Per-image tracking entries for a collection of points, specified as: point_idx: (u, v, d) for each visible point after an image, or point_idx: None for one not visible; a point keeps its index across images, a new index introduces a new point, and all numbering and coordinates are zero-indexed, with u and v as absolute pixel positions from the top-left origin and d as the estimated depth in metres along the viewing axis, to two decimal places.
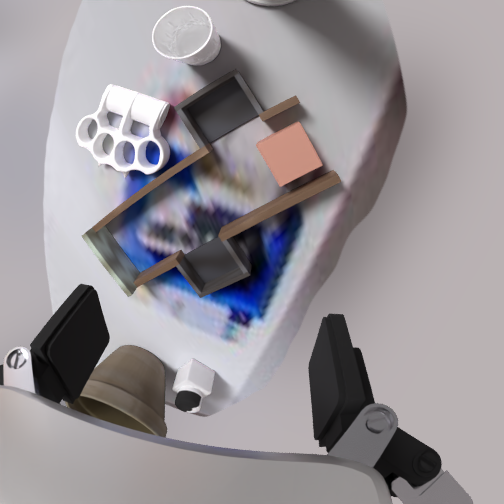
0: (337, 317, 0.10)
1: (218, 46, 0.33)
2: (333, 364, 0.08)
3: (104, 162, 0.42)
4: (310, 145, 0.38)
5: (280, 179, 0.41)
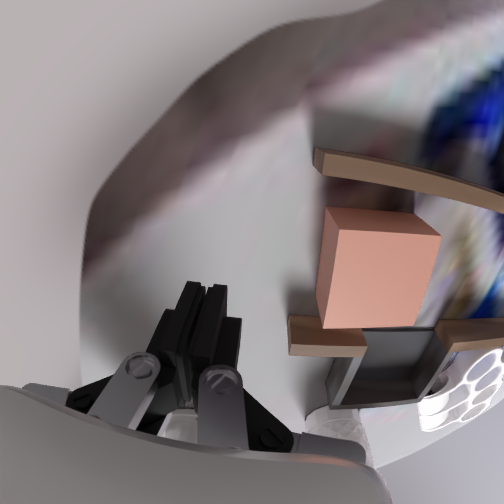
0: (218, 287, 0.11)
1: (320, 428, 0.26)
2: (196, 325, 0.09)
3: (500, 381, 0.24)
4: (335, 282, 0.17)
5: (432, 248, 0.15)
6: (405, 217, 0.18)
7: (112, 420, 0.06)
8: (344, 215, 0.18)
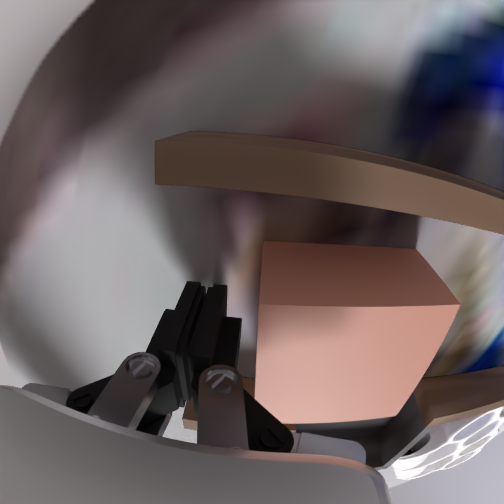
0: (218, 287, 0.11)
1: None
2: (196, 325, 0.09)
3: (496, 432, 0.17)
4: (262, 376, 0.10)
5: (441, 325, 0.08)
6: (400, 259, 0.11)
7: (112, 420, 0.06)
8: (287, 261, 0.10)
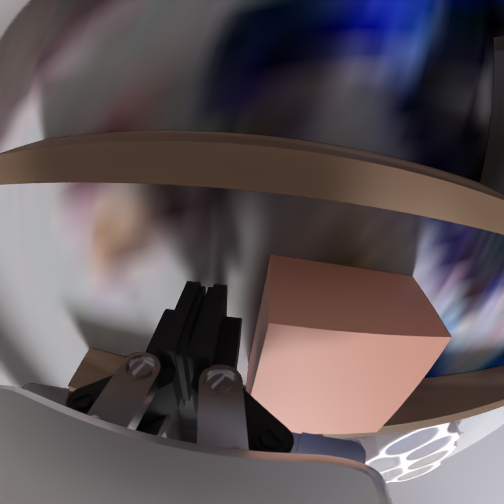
0: (218, 287, 0.11)
1: None
2: (196, 325, 0.09)
3: (452, 447, 0.17)
4: (259, 388, 0.10)
5: (431, 354, 0.09)
6: (399, 287, 0.11)
7: (112, 420, 0.06)
8: (294, 280, 0.11)
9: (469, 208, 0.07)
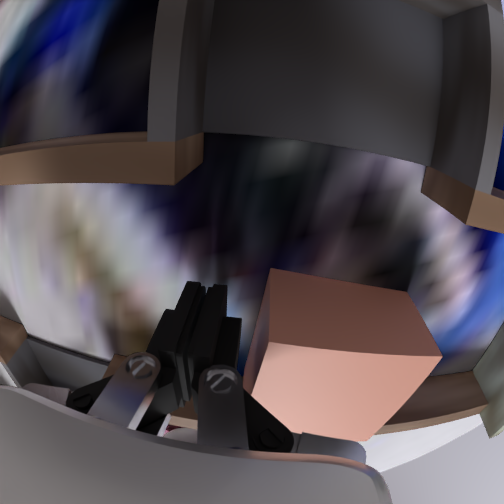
0: (218, 287, 0.11)
1: None
2: (196, 325, 0.09)
3: None
4: (256, 399, 0.10)
5: (422, 371, 0.09)
6: (394, 305, 0.12)
7: (112, 420, 0.06)
8: (293, 297, 0.11)
9: (56, 166, 0.07)
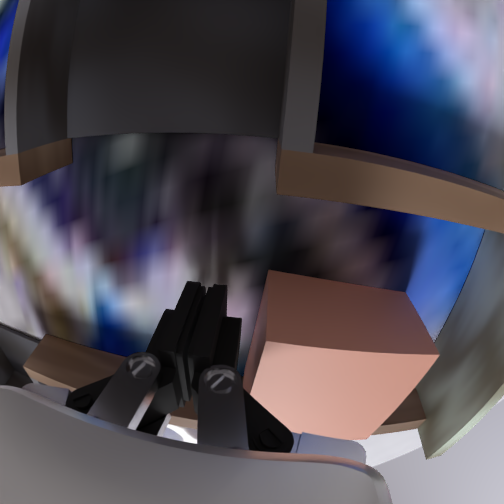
0: (218, 287, 0.11)
1: None
2: (196, 325, 0.09)
3: None
4: (255, 398, 0.10)
5: (420, 369, 0.09)
6: (391, 304, 0.12)
7: (112, 420, 0.06)
8: (291, 297, 0.11)
9: None
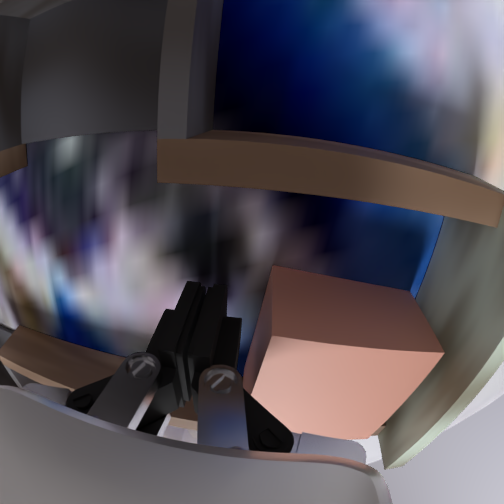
0: (218, 287, 0.11)
1: None
2: (196, 325, 0.09)
3: None
4: (257, 395, 0.10)
5: (424, 368, 0.09)
6: (396, 301, 0.12)
7: (112, 420, 0.06)
8: (296, 292, 0.11)
9: None
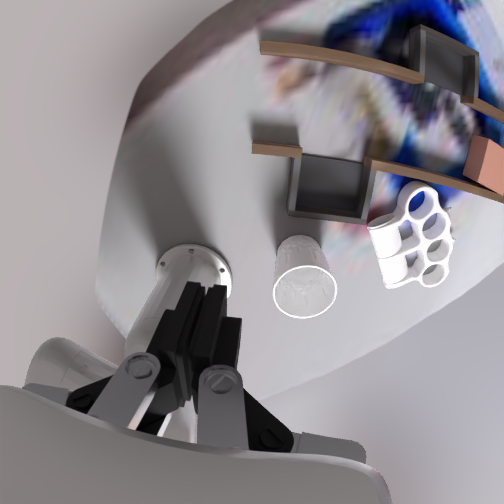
0: (218, 287, 0.11)
1: (285, 246, 0.39)
2: (196, 325, 0.09)
3: (450, 238, 0.37)
4: (484, 160, 0.29)
5: None
6: None
7: (112, 420, 0.06)
8: None
9: (396, 69, 0.27)
